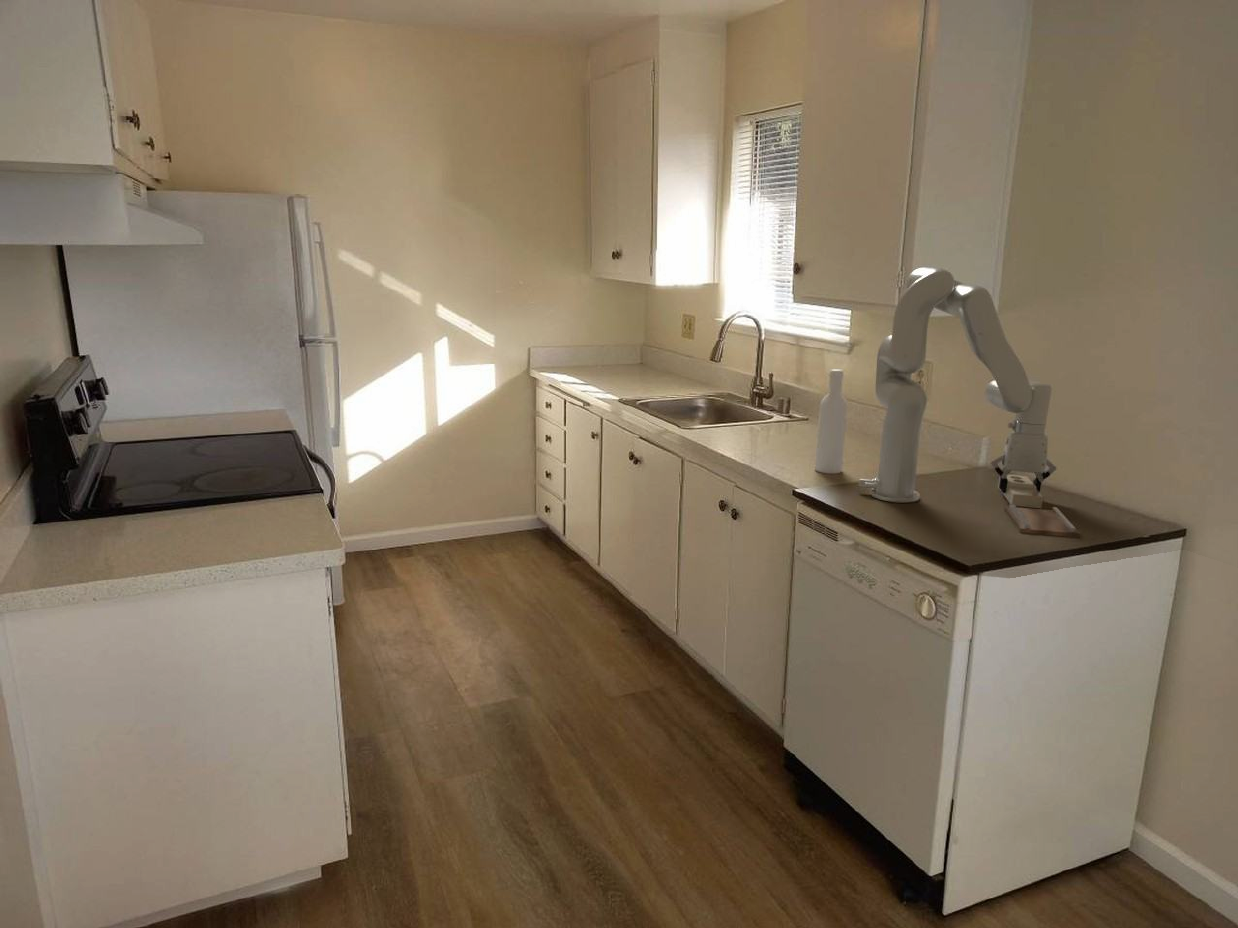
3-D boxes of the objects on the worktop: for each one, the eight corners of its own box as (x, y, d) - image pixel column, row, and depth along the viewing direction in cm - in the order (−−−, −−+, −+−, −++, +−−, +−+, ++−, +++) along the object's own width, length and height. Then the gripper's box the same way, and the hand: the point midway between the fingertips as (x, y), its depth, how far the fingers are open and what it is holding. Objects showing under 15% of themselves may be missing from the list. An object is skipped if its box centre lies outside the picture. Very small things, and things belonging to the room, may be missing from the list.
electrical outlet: (1014, 490, 221) (999, 473, 238) (1011, 505, 222) (997, 487, 240) (1043, 493, 220) (1027, 475, 237) (1041, 508, 221) (1025, 490, 238)
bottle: (816, 466, 261) (824, 367, 253) (843, 468, 258) (852, 369, 250) (813, 472, 253) (821, 370, 246) (840, 475, 251) (849, 372, 243)
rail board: (1019, 532, 203) (1020, 524, 203) (1004, 510, 220) (1005, 502, 220) (1079, 537, 200) (1080, 529, 200) (1059, 514, 217) (1060, 507, 217)
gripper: (996, 428, 224) (986, 493, 229) (1068, 434, 221) (1057, 500, 225) (991, 423, 232) (981, 486, 236) (1060, 428, 228) (1049, 492, 233)
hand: (1018, 492), depth 231 cm, fingers closed on electrical outlet, 7 cm apart
